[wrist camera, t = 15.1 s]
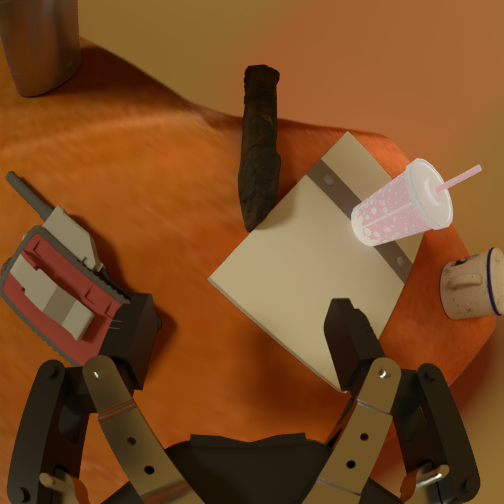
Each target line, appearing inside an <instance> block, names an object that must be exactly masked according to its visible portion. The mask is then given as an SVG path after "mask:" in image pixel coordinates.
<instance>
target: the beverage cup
mask: <svg viewBox="0 0 504 504" xmlns="http://www.w3.org/2000/svg"><path fill="white" fill-rule="evenodd" d="M479 171H482V168H481V166H480V165H477V166H476V167H473V168H472V169H470V170H468V171H466V172H464V173H462V174H461V175H459V176H457V177H455V178H453V179H451V180H449V181H447V182H446V183H444V181H443V179H442V177H441V176H440V174H439V173H438V172H437V171H436V169H435V168H434V167H433V166H432V165H431V164H430V163H428V162H427V161H426V160H424V159H419V158H417V159H416V160H414V161H413V162H411V163H410V164H409V165H407V166H406V170H405V171H404V172H403V173H401V174H400V175H399V176H397V177H396V178H395V179H393V180H392V181H390V182H389V183H388V184H386V185H385V186H384V187H382V188H381V189H379V190H378V191H377V192H375V193H374V194H373V195H371V196H370V197H368V198H367V199H366V200H364V201H363V202H361V203H360V204H359V205H357V206H356V207H354V209H353V211H352V214H351V223H352V227H353V230H354V232H355V234H356V236H357V237H358V239H359V240H360V241H362V242H363V243H364V244H366V245H368V246H376V245H379V244H383V243H386V242H390V241H393V240H397V239H400V238H403V237H407V236H410V235H413V234H417V233H420V232H423V231H426V230H430V229H435V230H438V229H442V228H446V227H449V225H450V223H451V222H452V217H453V208H452V202H451V198H450V195H449V192H448V189H447V188H449V187H451V186H453V185H455V184H457V183H459V182H460V181H462V180H464V179H466V178H468V177H470V176H472V175H474V174H476V173H478V172H479Z"/></svg>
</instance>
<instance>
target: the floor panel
mask: <svg viewBox="0 0 504 504" xmlns="http://www.w3.org/2000/svg"><path fill="white" fill-rule="evenodd" d="M392 180H393V179H392V178H391V177H390V176H389V175H388V173H387V172H386V171H385V170H384V169H383V168H382V167H381V165H380V164H379V163H378V162H377V161H376V160H375V159H374V158H373V157H372V155H371V154H370V153H369V152H368V151H367V150H366V149H365V148H364V147H363V146H362V145H361V144H360V143H359V142H358V141H357V140H356V139H355V138H354V137H353V136H352V135H351V134H350V133H349V132H348V131H347V132H346V133H345V134H344V135H343V136H342V137H341V138H340V139H339V140H338V141H337V142H336V143H335V144H334V145H333V146H332V147H331V148H330V149H329V150H328V151H327V153H326V154H325V155H324V156H323V157H322V158H321V159H320V160H319V161H318V162H317V163H316V164H315V165H314V166H313V167H312V168H311V169H310V170H309V171H308V172H307V173H306V174H305V175H304V177H303V178H302V179H301V180H300V181H299V182H298V183H297V184H296V185H295V186H294V187H293V188H292V189H291V190H290V191H289V192H288V193H287V194H286V195H285V197H284V198H283V199H282V200H281V201H280V202H279V203H278V204H277V205H276V206H275V207H274V208H273V209H272V210H271V211H270V212H269V213H268V215H267V217H266V219H265V220H264V221H263V222H262V223H260V224H259V225H257V226H256V227H255V228H254V230H253V231H252V232H251V233H250V234H249V235H248V236H247V237H246V238H245V239H244V240H243V241H242V242H241V243H240V245H239V246H238V247H237V248H236V249H235V250H234V251H233V252H232V253H231V254H230V255H229V256H228V258H227V259H226V260H225V261H224V262H223V263H222V264H221V265H220V266H219V267H218V268H217V269H216V271H215V272H214V273H213V274H212V275H211V276H210V277H209V278H208V279H207V280H208V281H209V282H210V283H211V284H212V285H213V286H214V287H216V288H217V289H218V290H219V291H220V292H221V293H222V294H223V295H224V296H225V297H226V298H228V299H229V300H230V301H231V302H232V303H233V304H234V305H235V306H236V307H238V308H239V309H240V310H241V311H242V312H243V313H244V314H245V315H247V316H248V317H249V318H250V319H251V320H252V321H253V322H254V323H256V324H257V325H258V326H259V327H260V328H261V329H262V330H264V331H265V332H266V333H267V334H268V335H269V336H271V337H272V338H273V339H274V340H275V341H276V342H278V343H279V344H280V345H281V346H282V347H284V348H285V349H286V350H287V351H288V352H290V353H291V354H292V355H293V356H294V357H296V358H297V359H298V360H299V361H300V362H302V363H303V364H304V365H305V366H307V367H308V368H309V369H310V370H311V371H313V372H314V373H315V374H316V375H318V376H319V377H320V378H321V379H323V380H324V381H325V382H326V383H328V384H329V385H330V386H332V387H333V388H334V389H335V390H337V391H338V392H341V388H340V385H339V382H338V378H337V375H336V371H335V368H334V365H333V361H332V358H331V355H330V352H329V348H328V345H327V342H326V339H325V336H324V330H323V327H324V321H325V318H326V315H327V312H328V309H329V305H330V302H331V300H332V299H333V298H349V299H350V300H351V303H352V305H353V307H354V309H356V308H359V309H360V310H361V311H362V312H363V313H364V314H365V315H366V316H367V318H368V320H369V322H370V326H372V329H373V331H374V333H375V335H376V337H377V339H379V337H380V335H381V333H382V331H383V329H384V327H385V325H386V323H387V321H388V319H389V317H390V315H391V313H392V311H393V309H394V307H395V305H396V303H397V301H398V298H399V296H400V294H401V292H402V289H403V287H404V285H405V284H406V281H407V279H408V276H409V274H410V272H411V269H412V266H413V262H414V260H415V257H416V255H417V252H418V249H419V246H420V243H421V241H422V238H423V235H424V232H425V231H423V232H420V233H417V234H413V235H410V236H407V237H403V238H400V239H397V240H393V241H390V242H386V243H383V244H379V245H376V246H368V245H366V244H364V243H363V242H362V241H360V240H359V239H358V237H357V236H356V234H355V232H354V230H353V227H352V223H351V214H352V211H353V209H354V207H356V206H357V205H359V204H360V203H361V202H363V201H364V200H366V199H367V198H368V197H370V196H371V195H373V194H374V193H375V192H377V191H378V190H379V189H381V188H382V187H384V186H385V185H386V184H388V183H389V182H390V181H392ZM341 393H344V394H346V393H347V391H342V392H341Z"/></svg>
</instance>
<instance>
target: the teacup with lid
mask: <svg viewBox="0 0 504 504" xmlns="http://www.w3.org/2000/svg"><path fill="white" fill-rule="evenodd" d="M440 296H441V301H442V305H443V308H444V311H445V313H446V314H447V316H448V317H449V318H450V319H452V320H459V319H467V318H475V317H482V316H489V315H495V314H497V315H498V316H500V315H502V314H504V255H503V253H502V252H501V250H500V249H498V248H494V247H493V248H491V249H490V250H489V251H486V252H483V253H480V254H476V255H473V256H470V257H466V258H463V259H460V260H456V261H453V262H449V263H447V264H446V265H445V267H444V268H443V271H442V274H441V279H440Z"/></svg>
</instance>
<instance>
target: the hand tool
mask: <svg viewBox="0 0 504 504" xmlns="http://www.w3.org/2000/svg"><path fill="white" fill-rule="evenodd" d="M279 76H280V74H279V72H278V71H277V70H275V69H273V68H271V67H268V66H266V65H254V66H248V68H247V69H246V70H245V78H244V83H245V85H244V88H245V96H244V104H245V110H244V116H243V135H242V151H241V163H240V169H239V173H238V192H239V198H240V205H241V210H242V215H243V219H244V222H245V227H246V229H247V231H248V232H250V231H251V230H253V229H254V228H255V227H256V226H257V225H259V224H260V223H262V222H263V221H264V220H265V219H266V217H267V215H268V213H269V211H270V210H271V208H272V206H273V204H274V203H275V201H276V199H277V191H278V184H279V183H278V180H279V173H280V166H281V158H280V155H279V154H278V153H277V151H276V137H277V95H276V85H277V83H278V81H279Z"/></svg>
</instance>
